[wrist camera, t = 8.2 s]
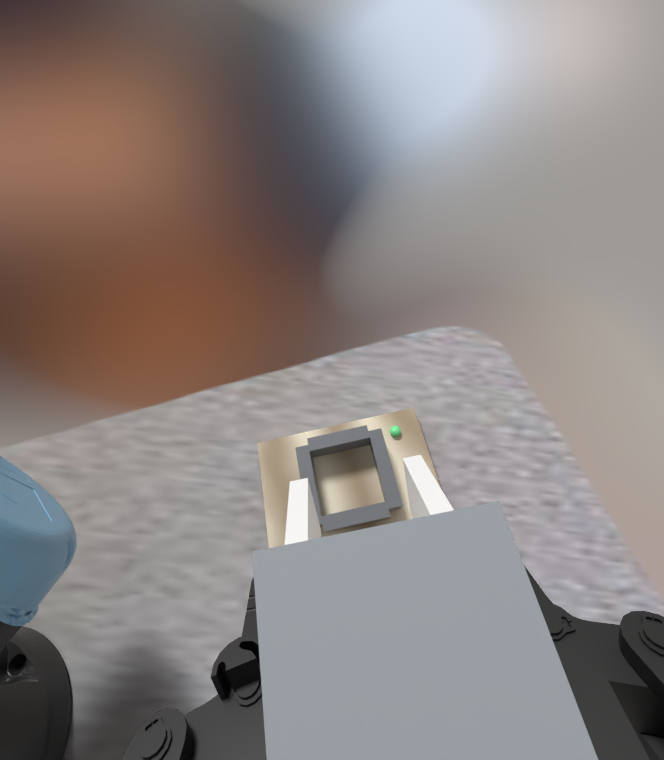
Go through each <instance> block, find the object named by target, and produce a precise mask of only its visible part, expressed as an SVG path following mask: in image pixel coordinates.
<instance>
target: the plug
mask: <svg viewBox="0 0 664 760" xmlns="http://www.w3.org/2000/svg"><path fill="white" fill-rule="evenodd" d="M252 558H253V572H254V586H255V601H256V615H257V629H258V643H259V657H260V672H261V686H262V700H263V714H264V729H265V743H266V757H267V760H598V758H597V755H596V752H595V750H594V747H593V745H592V742H591V739H590V737H589V734H588V731H587V729H586V726H585V724H584V721H583V718H582V716H581V713H580V711H579V708H578V705H577V703H576V700H575V698H574V695H573V692H572V690H571V687H570V684H569V682H568V679H567V677H566V674H565V671H564V669H563V666H562V664H561V661H560V658H559V656H558V653H557V651H556V648H555V645H554V643H553V640H552V637H551V635H550V632H549V630H548V627H547V624H546V622H545V619H544V617H543V614H542V611H541V609H540V606H539V603H538V601H537V598H536V596H535V593H534V590H533V588H532V585H531V583H530V580H529V577H528V575H527V572H526V570H525V567H524V564H523V562H522V559H521V556H520V554H519V551H518V549H517V546H516V543H515V541H514V538H513V536H512V533H511V530H510V528H509V525H508V523H507V520H506V517H505V515H504V512H503V509H502V507H501V504H500V502H499V501H497V502H492V503H487V504H482V505H477V506H472V507H467V508H463V509H458V510H453V511H448V512H443V513H438V514H433V515H428V516H424V517H419V518H414V519H409V520H404V521H399V522H394V523H389V524H385V525H380V526H375V527H370V528H365V529H360V530H355V531H351V532H346V533H341V534H336V535H331V536H326V537H321V538H316V539H312V540H307V541H302V542H297V543H292V544H287V545H282V546H277V547H273V548H268V549H263V550H258V551H253V552H252Z"/></svg>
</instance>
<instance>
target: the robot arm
mask: <svg viewBox="0 0 664 760" xmlns="http://www.w3.org/2000/svg"><path fill="white" fill-rule="evenodd" d="M403 465H404V471H405V478H406V485H407V492H408V499H409V506H410V512H411V515H412V517H413V519H414V518H419V517H424V516H428V515H433V514H438V513H443V512H448V511H453V508H452V506H451V505H450V503H449V501H448V500H447V498H446V496H445V495H444V493H443V491H442V490H441V488H440V486H439V485H438V483H437V481H436V480H435V478H434V476H433V475H432V473H431V471H430V470H429V468H428V466H427V465H426V463H425V461H424V460H423V458H422V456H421V455H417V456H412V457H407V458H403ZM316 538H321V528H320V524H319V520H318V516H317V512H316V508H315V504H314V500H313V496H312V492H311V488H310V484H309V480H308V478H304V479H300V480H295V481H290V486H289V497H288V509H287V521H286V533H285V545H287V544H292V543H297V542H302V541H307V540H312V539H316ZM75 549H76V533H75V529H74V526H73V524H72V522H71V520H70V518H69V517H68V515H67V513H66V512H65V511H64V509H63V508H62V507H61V506H60V504H59V503H58V502H57V501H56V500H55V499H54V498H53V497H52V496H51V495H50V494H49V493H48V492H47V491H46V490H45V489H44V488H43V487H42V486H40V485H39V484H38V483H37V482H36V481H34V480H33V479H32V478H31V477H29V476H28V475H27V474H26V473H24V472H23V471H22V470H20V469H19V468H17V467H16V466H15V465H13V464H12V463H10V462H9V461H7V460H6V459H4V458H2V457H1V456H0V760H62V756H63V753H64V749H65V745H66V741H67V736H68V731H69V723H70V713H71V694H70V685H69V679H68V675H67V671H66V668H65V665H64V662H63V660H62V657H61V656H60V654H59V652H58V650H57V649H56V647H55V646H54V645H53V644H52V643H51V641H50V640H48V639H47V638H46V637H45V636H44V635H42V634H41V633H39V632H37V631H35V630H33V629H30V628H27V627H22V626H23V625H25V624H26V623H29V622H30V621H31V620H32V618H33V617H34V616H35V614H36V613H37V611H38V605H39V603H40V602H41V601H42V600H43V598H44V597H45V596H46V594H47V593H48V592H49V591H50V589H51V588H52V587H53V585H54V584H55V583H56V582H57V580H58V579H59V578H60V576H61V575H62V574H63V572H64V571H65V570H66V569H67V567H68V566H69V564H70V562H71V560H72V558H73V556H74V553H75ZM524 567H525V566H524ZM525 570H526V572H527V575H528V577H529V580H530V583H531V585H532V588H533V590H534V593H535V596H536V598H537V601H538V603H539V606H540V609H541V611H542V614H543V617H544V619H545V622H546V624H547V627H548V630H549V632H550V635H551V637H552V640H553V643H554V645H555V648H556V651H557V653H558V656H559V658H560V661H561V664H562V666H563V669H564V671H565V674H566V677H567V679H568V682H569V684H570V687H571V690H572V692H573V695H574V698H575V700H576V703H577V705H578V708H579V711H580V713H581V716H582V718H583V721H584V724H585V726H586V729H587V731H588V734H589V737H590V739H591V742H592V745H593V747H594V750H595V752H596V755H597V758H598V760H664V617H663V616H660V615H658V614H654V613H650V612H646V611H633V612H630V613H628V614H626V615H624V616H623V618H622V621H621V623H620V625H615V624H607V623H599V622H591V621H586V620H581V619H578V618H576V617H573V616H571V615H570V614H569V613H567V612H566V611H565V610H564V609H562V608H561V607H559V606H556V605H554V604H553V603H552V602H551V601H550V600H549V599H548V597H547V596H546V595H545V594H544V592H543V591H542V589H541V588H540V587H539V585H538V584H537V582H536V581H535V580H534V578H533V577H532V576H531V574H530V573H529V571H528V570H527V569H526V567H525ZM211 679H212V681H213V683H214V685H215V688H216V690H217V692H218V695H217V696H215V697H214V698H213V699H211V700H210V701H208V702H207V703H205V704H203V705H202V706H200V707H198V708H197V709H195V710H193V711H191V712H190V713H188V714H186V715H185V716H184V715H183V714H182V713H181V712H180V711H179V710H178V709H169V708H168V709H165V710H162V711H160V712H157V713H155V714H154V715H153V716H152V717H150V718H149V719H148V720H146V721H145V722H144V723H143V724H142V726H141V727H140V728H139V729H138V730H137V732H136V733H135V734H134V736H133V737H132V739H131V741H130V743H129V745H128V747H127V749H126V751H125V753H124V756H123V758H122V760H267V757H266V743H265V729H264V714H263V700H262V686H261V672H260V657H259V643H258V629H257V615H256V601H255V586H254V578H253V579H252V582H251V588H250V594H249V599H248V605H247V612H246V616H245V622H244V627H243V633H242V637H239V638H238V639H236V640H234V641H233V642H231V643H229V644H228V645H227V646H226V647H225V648H224V649H223V650H222V652H221V653H220V654H219V656H218V658H217V659H216V661H215V663H214V665H213V669H212V673H211Z"/></svg>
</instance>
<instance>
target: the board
mask: <svg viewBox="0 0 664 760" xmlns="http://www.w3.org/2000/svg"><path fill="white" fill-rule="evenodd" d="M364 425H367V428H368V431H371V430H375V429H380V428H381V429H382V433H383V436H384V440H385V444H386V447H387V451H388V454H389V458H390V461H391V465H392V468H393V472H394V475H395V479H396V483H397V486H398V490H399V493H400V497H401V500H402V504H403V506H402V507H401V509H397V510H393V511H389V512H390V516H391V517H390V518H389V519H386V520H382V521H378V522H373V523H369V524H365V525H360V526H356V527H351V528H347V529H343V530H338V531H334V532H330V533H325V532H324V531H323V527H320V528H321V537H326V536H331V535H336V534H341V533H346V532H351V531H355V530H360V529H365V528H370V527H375V526H380V525H385V524H389V523H394V522H399V521H404V520H409V519H413V517H412V515H411V512H410V506H409V499H408V492H407V485H406V478H405V471H404V465H403V458H407V457H412V456H417V455H421V456H422V458H423V460H424V461H425V463H426V465H427V466H428V468H429V470H430V471H431V473H432V475H433V476H434V478H435V480H436V481H437V483H438V485H439V486H440V484H439V481H438V478H437V475H436V472H435V469H434V466H433V463H432V460H431V457H430V454H429V451H428V448H427V445H426V442H425V439H424V437H423V434H422V431H421V428H420V425H419V422H418V419H417V416H416V413H415V410H414V408H410V409H406V410H401V411H397V412H392V413H388V414H383V415H379V416H375V417H370V418H366V419H361V420H357V421H353V422H348V423H344V424H339V425H335V426H331V427H326V428H322V429H317V430H313V431H308V432H304V433H300V434H295V435H291V436H286V437H282V438H278V439H273V440H269V441H264V442H260V443H258V452H259V461H260V470H261V479H262V488H263V497H264V506H265V515H266V525H267V534H268V543H269V548H273V547H277V546H282V545H285V533H286V521H287V509H288V497H289V486H290V481H295V480H300V474H299V468H298V462H297V456H296V449H295V448H296V447H301V446H305V445H308V441H307V438H311V437H316V436H320V435H325V434H329V433H334V432H338V431H342V430H347V429H351V428H356V427H360V426H364ZM392 426H398V427H399V428H400V430H401V432H400V435H399V436H397V437H393V436H392V435H391V434H390V429H391V427H392ZM313 459H314V465H315V470H316V476H317V482H318V487H319V493H320V498H321V504H322V509H323V515H329V514H333V513H337V512H342V511H346V510H350V509H355V508H359V507H364V506H368V505H372V504H377V503H381V502H385V501H384V497H383V494H382V490H381V486H380V482H379V478H378V474H377V471H376V467H375V463H374V459H373V455H372V451H371V447H370V445H367V446H363V447H358V448H354V449H350V450H345V451H341V452H336V453H332V454H328V455H323V456H319V457H314V458H313ZM440 488H441V487H440Z"/></svg>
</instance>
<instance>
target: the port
mask: <svg viewBox="0 0 664 760" xmlns="http://www.w3.org/2000/svg"><path fill="white" fill-rule="evenodd" d="M400 432H401V430H400V428H399V427H398V426H392V427H391V429H390V434H391V435H392V436H393V437H397V436H399V435H400ZM307 441H308V445H305V446H301V447H296V448H295V449H296V456H297V462H298V468H299V474H300V479H304V478H308V480H309V484H310V488H311V492H312V496H313V500H314V504H315V508H316V512H317V516H318V520H319V524H320V527H323V531H324V532H325V533H330V532H334V531H338V530H343V529H347V528H351V527H356V526H360V525H365V524H369V523H373V522H378V521H382V520H386V519H389V518H390V517H391V516H390V512H389V511H393V510H397V509H401V507H402V506H403V504H402V500H401V497H400V493H399V490H398V486H397V483H396V479H395V475H394V472H393V468H392V465H391V461H390V458H389V454H388V451H387V447H386V444H385V440H384V436H383V433H382V429H381V428H380V429H375V430H371V431H368V428H367V425H364V426H360V427H356V428H351V429H347V430H342V431H338V432H334V433H329V434H325V435H320V436H316V437H311V438H307ZM367 445H370V447H371V451H372V455H373V459H374V463H375V467H376V471H377V474H378V478H379V482H380V486H381V490H382V494H383V497H384V501H385V502H381V503H377V504H372V505H368V506H364V507H359V508H355V509H350V510H346V511H342V512H337V513H333V514H329V515H323V509H322V504H321V498H320V493H319V487H318V482H317V476H316V470H315V465H314V459H313V458H314V457H319V456H323V455H328V454H332V453H336V452H341V451H345V450H350V449H354V448H358V447H363V446H367Z"/></svg>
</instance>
